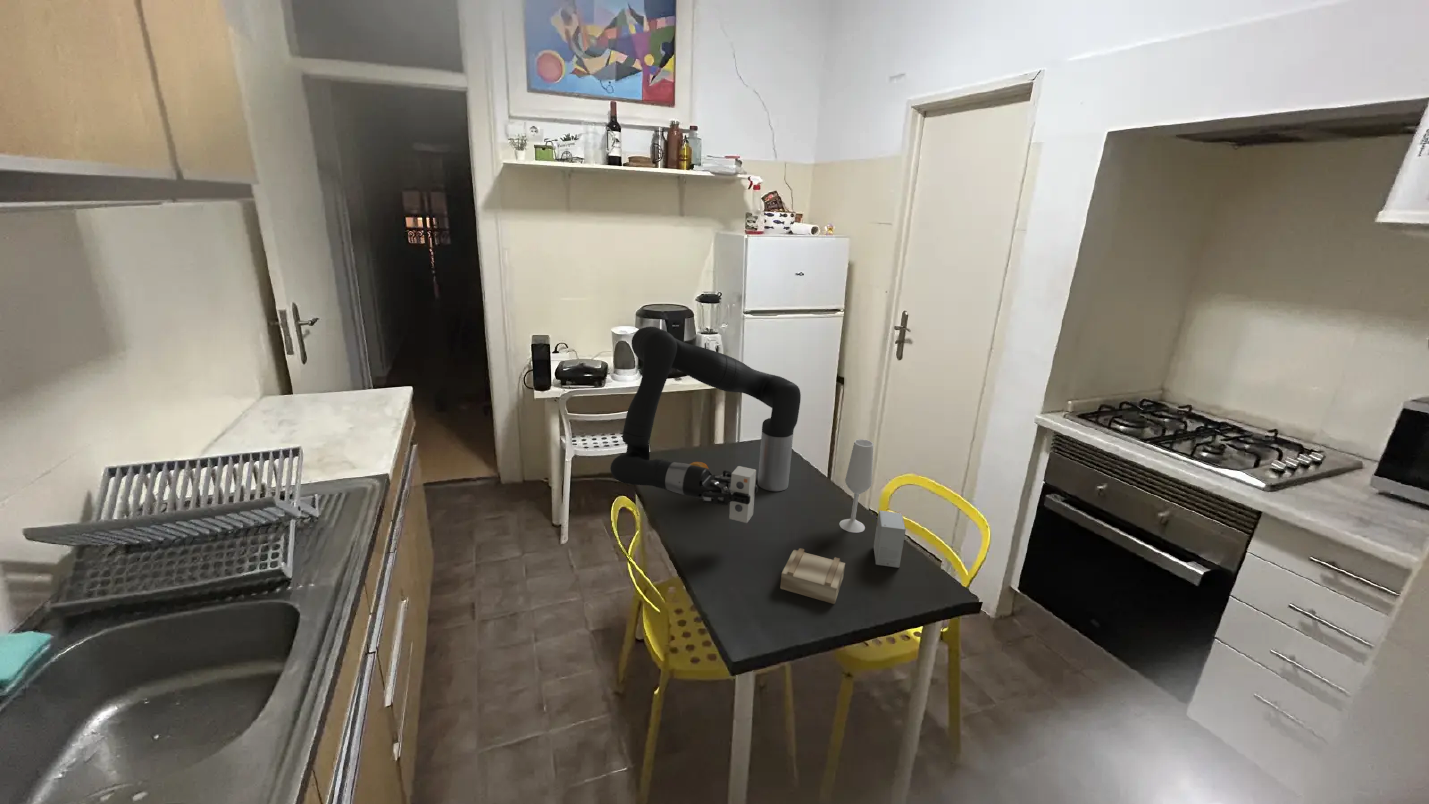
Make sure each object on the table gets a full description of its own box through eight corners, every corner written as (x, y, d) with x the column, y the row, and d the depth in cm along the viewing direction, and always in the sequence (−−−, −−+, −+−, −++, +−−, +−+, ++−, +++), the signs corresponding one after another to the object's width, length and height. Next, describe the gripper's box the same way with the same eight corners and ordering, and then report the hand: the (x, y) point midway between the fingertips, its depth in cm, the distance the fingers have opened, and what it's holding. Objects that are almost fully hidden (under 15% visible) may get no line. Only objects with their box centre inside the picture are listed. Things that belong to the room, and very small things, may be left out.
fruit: (718, 477, 172) (711, 461, 166) (705, 498, 167) (698, 482, 162) (696, 470, 176) (689, 454, 170) (683, 490, 171) (675, 474, 166)
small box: (899, 568, 134) (906, 530, 131) (874, 565, 135) (881, 526, 132) (896, 550, 141) (902, 512, 138) (873, 546, 142) (878, 509, 139)
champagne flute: (870, 528, 150) (883, 445, 142) (851, 535, 147) (863, 450, 139) (852, 517, 156) (864, 436, 148) (834, 522, 152) (844, 440, 145)
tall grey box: (735, 510, 140) (738, 465, 136) (753, 514, 138) (756, 469, 134) (728, 519, 136) (731, 473, 132) (746, 523, 134) (749, 477, 130)
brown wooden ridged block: (792, 564, 134) (793, 546, 132) (843, 578, 130) (845, 560, 128) (780, 588, 125) (782, 570, 123) (834, 604, 121) (837, 585, 119)
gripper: (675, 478, 132) (744, 494, 126) (700, 454, 145) (763, 468, 139) (674, 506, 135) (742, 523, 129) (699, 481, 147) (762, 495, 141)
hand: (753, 494), depth 134 cm, fingers closed on tall grey box, 4 cm apart
